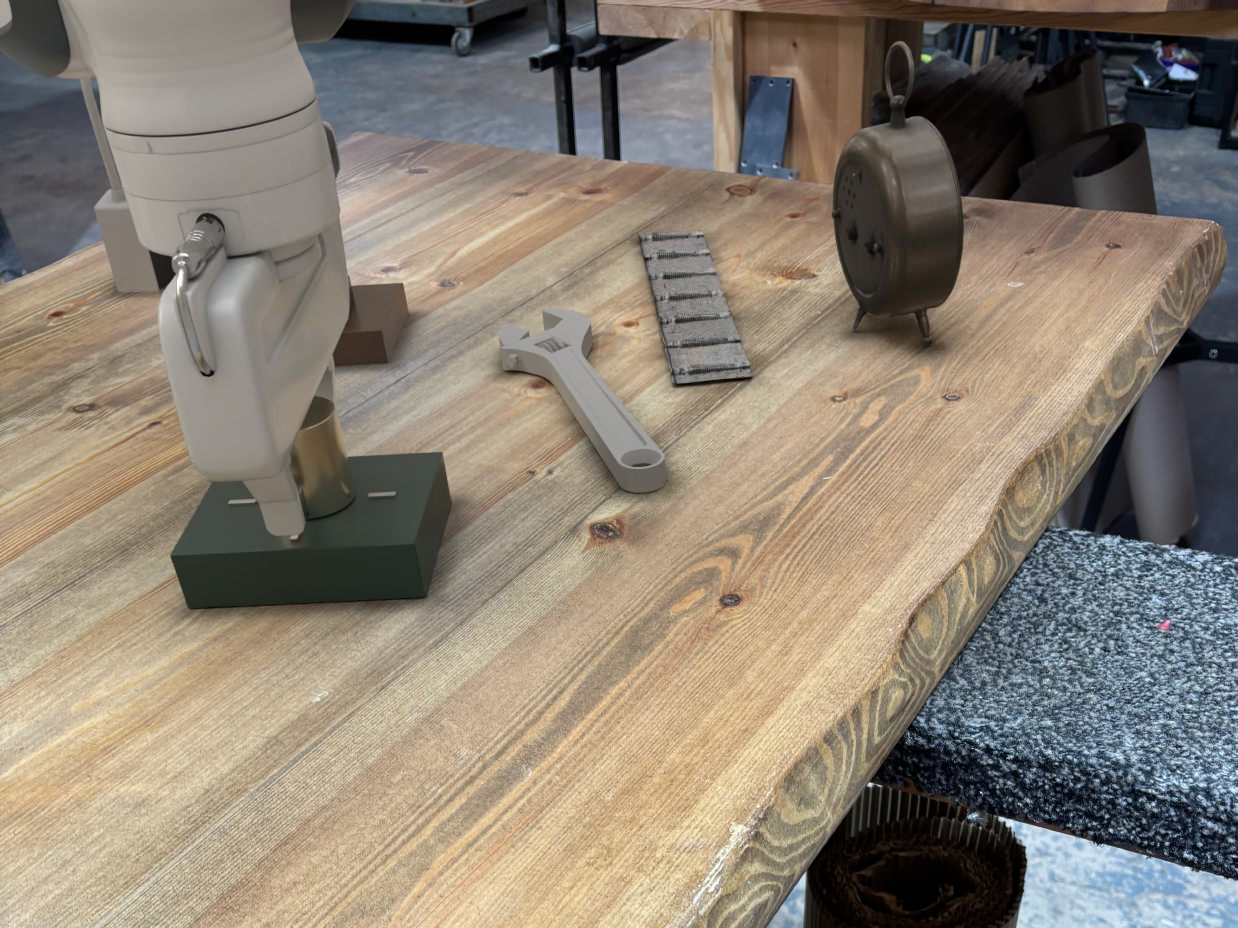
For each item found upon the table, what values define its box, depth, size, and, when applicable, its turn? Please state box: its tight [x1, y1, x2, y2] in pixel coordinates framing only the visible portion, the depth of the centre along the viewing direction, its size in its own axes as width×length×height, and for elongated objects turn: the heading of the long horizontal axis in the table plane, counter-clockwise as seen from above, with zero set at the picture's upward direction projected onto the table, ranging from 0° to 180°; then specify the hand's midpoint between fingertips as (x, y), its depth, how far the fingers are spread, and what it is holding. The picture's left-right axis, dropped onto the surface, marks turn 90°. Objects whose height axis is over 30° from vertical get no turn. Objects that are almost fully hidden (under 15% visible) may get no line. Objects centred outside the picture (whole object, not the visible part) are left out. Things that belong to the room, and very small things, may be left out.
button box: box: [332, 275, 410, 367], centre depth 91 cm, size 12×9×4 cm
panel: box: [169, 451, 453, 609], centre depth 68 cm, size 12×10×3 cm
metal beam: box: [637, 229, 754, 385], centre depth 93 cm, size 30×1×5 cm
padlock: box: [79, 78, 176, 293], centre depth 99 cm, size 7×4×15 cm, turn 173°
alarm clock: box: [831, 40, 965, 348], centre depth 82 cm, size 11×5×16 cm, turn 17°
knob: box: [289, 396, 355, 519], centre depth 66 cm, size 4×4×5 cm
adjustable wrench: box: [497, 308, 667, 494], centre depth 81 cm, size 25×6×2 cm, turn 14°
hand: (308, 483), depth 67 cm, fingers open, 8 cm apart
